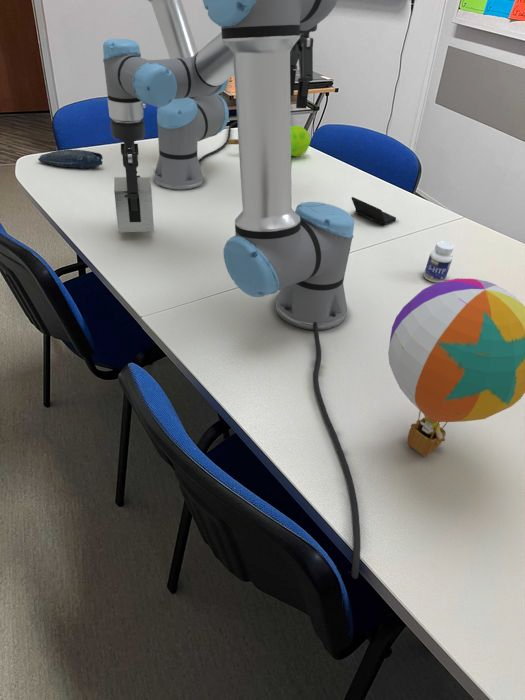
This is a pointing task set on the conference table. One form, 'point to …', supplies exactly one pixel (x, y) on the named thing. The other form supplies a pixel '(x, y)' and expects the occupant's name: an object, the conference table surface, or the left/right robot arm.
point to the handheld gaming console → (372, 212)
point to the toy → (458, 355)
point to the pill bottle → (439, 262)
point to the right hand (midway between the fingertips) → (134, 213)
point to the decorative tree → (292, 140)
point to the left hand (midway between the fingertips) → (294, 101)
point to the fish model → (72, 158)
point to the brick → (123, 209)
